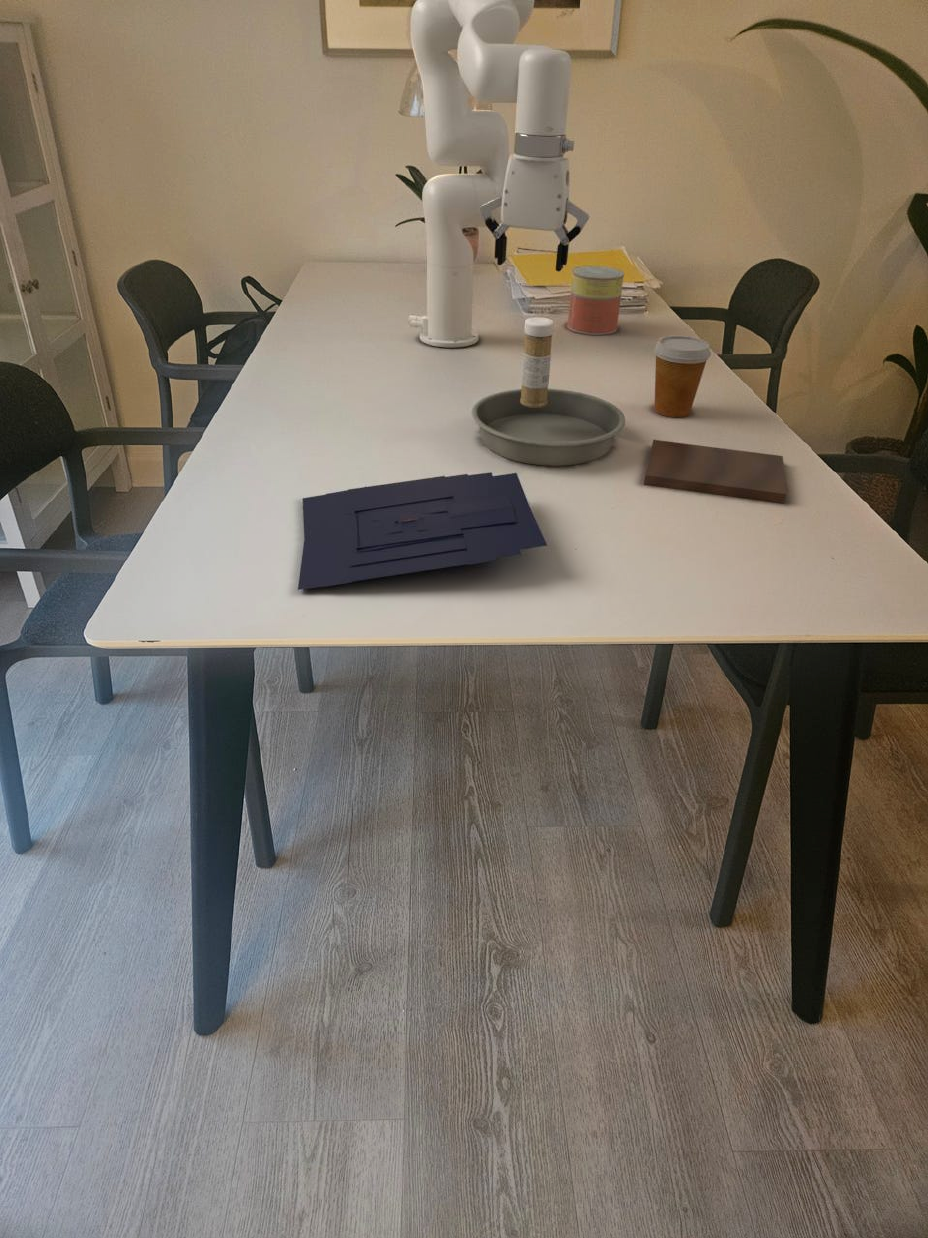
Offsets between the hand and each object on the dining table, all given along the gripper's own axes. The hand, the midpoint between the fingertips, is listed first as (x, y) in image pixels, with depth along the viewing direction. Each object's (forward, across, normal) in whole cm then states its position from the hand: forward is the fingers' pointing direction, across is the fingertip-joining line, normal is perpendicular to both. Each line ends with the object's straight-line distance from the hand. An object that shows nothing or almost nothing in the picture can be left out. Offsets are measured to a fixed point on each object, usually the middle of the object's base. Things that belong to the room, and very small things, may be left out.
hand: (530, 266), depth 139 cm
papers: (+23, +2, +52) cm, 57 cm away
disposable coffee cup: (+23, -26, -6) cm, 36 cm away
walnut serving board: (+23, -35, +19) cm, 45 cm away
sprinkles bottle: (+19, -4, +11) cm, 22 cm away
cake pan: (+23, -8, +14) cm, 28 cm away
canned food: (+24, -5, -53) cm, 58 cm away
